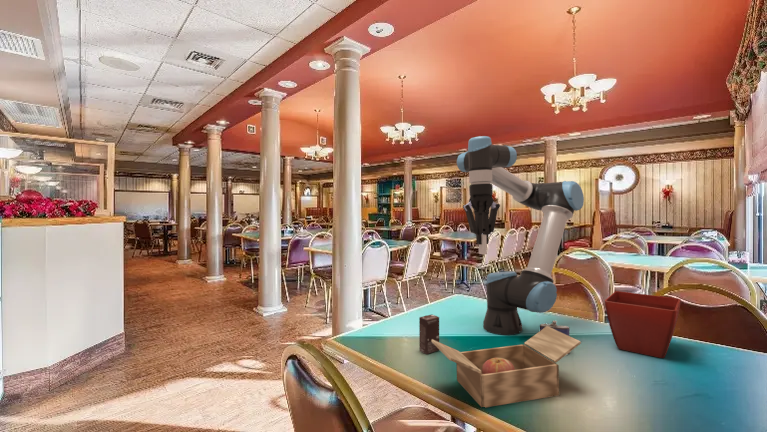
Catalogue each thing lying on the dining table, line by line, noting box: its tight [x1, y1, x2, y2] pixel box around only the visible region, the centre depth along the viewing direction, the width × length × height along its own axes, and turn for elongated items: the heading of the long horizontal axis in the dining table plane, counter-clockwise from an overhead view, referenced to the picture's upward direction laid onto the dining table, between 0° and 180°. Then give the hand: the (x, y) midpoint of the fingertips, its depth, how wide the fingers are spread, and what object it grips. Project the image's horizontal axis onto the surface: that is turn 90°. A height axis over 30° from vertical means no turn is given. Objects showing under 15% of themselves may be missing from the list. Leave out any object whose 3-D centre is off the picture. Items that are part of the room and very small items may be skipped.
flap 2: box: [524, 326, 582, 364], centre depth 102 cm, size 1×13×9 cm
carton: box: [455, 343, 560, 408], centre depth 99 cm, size 22×15×8 cm
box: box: [418, 314, 440, 355], centre depth 125 cm, size 6×4×12 cm
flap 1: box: [431, 339, 481, 373], centre depth 95 cm, size 1×13×9 cm
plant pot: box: [604, 290, 682, 359], centre depth 122 cm, size 19×19×17 cm
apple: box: [482, 358, 515, 374], centre depth 98 cm, size 9×9×8 cm
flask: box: [539, 320, 571, 355], centre depth 121 cm, size 9×3×11 cm, turn 68°
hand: (482, 253), depth 121 cm, fingers closed
